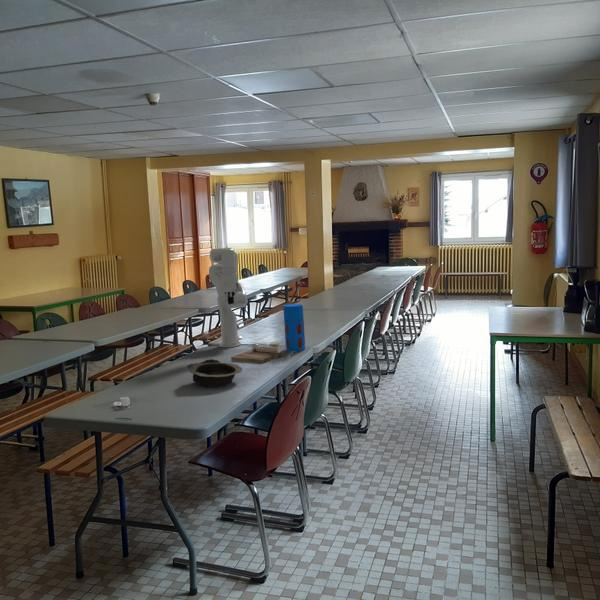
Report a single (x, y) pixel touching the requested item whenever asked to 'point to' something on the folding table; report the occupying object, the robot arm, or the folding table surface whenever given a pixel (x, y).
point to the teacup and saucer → (122, 402)
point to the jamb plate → (256, 356)
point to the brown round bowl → (213, 373)
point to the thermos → (294, 327)
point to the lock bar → (266, 348)
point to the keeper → (274, 345)
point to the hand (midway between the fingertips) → (231, 303)
